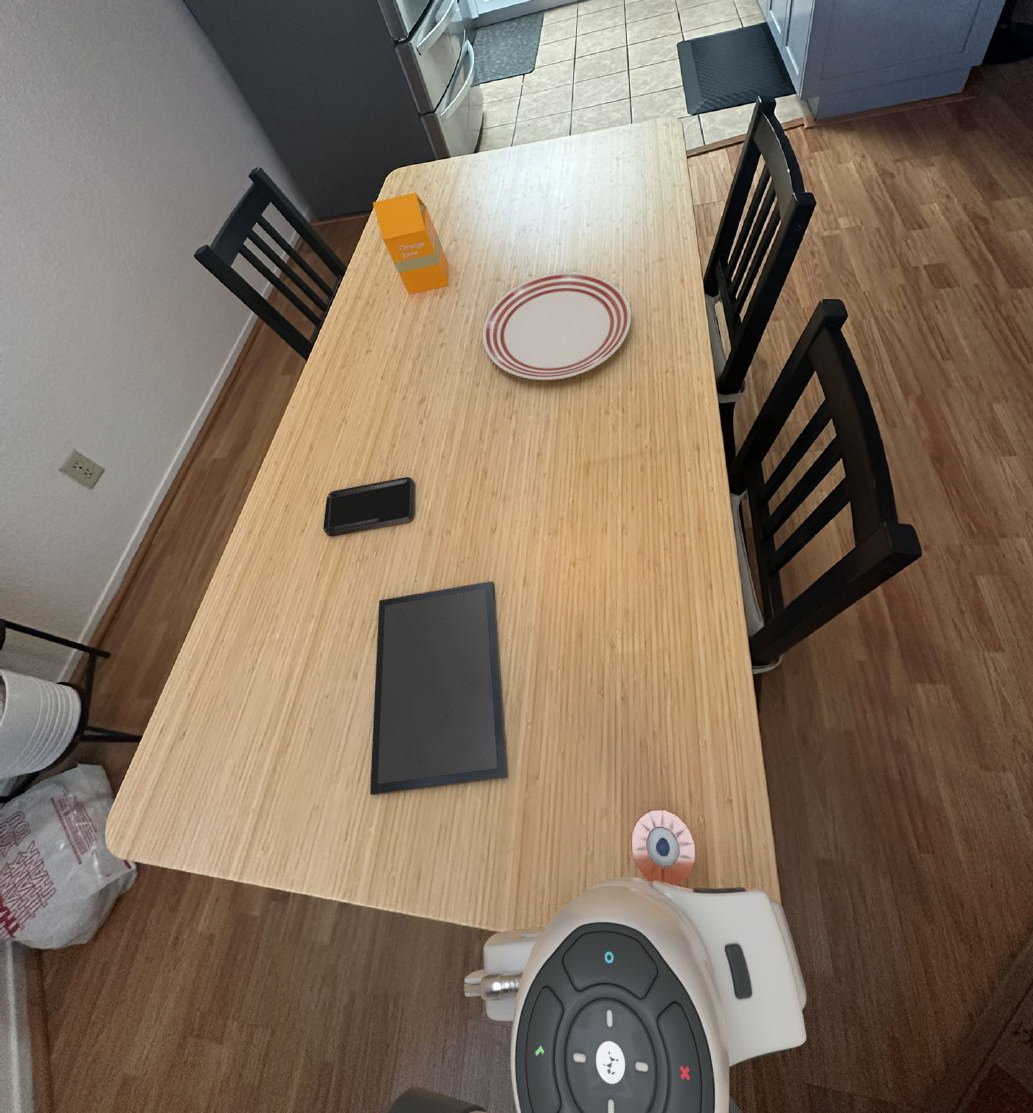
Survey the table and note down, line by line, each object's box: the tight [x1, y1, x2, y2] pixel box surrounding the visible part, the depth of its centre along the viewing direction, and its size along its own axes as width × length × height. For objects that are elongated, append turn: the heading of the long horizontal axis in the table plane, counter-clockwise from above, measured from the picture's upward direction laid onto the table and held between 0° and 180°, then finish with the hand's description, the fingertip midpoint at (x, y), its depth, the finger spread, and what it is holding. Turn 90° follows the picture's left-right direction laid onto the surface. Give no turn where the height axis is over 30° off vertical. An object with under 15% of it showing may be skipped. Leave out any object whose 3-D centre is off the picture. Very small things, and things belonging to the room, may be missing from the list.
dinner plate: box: [481, 271, 632, 381], centre depth 107 cm, size 28×27×3 cm
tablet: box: [369, 581, 509, 796], centre depth 77 cm, size 24×17×1 cm
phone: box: [322, 476, 416, 537], centre depth 94 cm, size 8×1×15 cm
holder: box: [630, 808, 697, 886], centre depth 57 cm, size 6×6×13 cm
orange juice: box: [372, 191, 449, 295], centre depth 118 cm, size 8×9×20 cm
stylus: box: [656, 838, 670, 856], centre depth 55 cm, size 1×1×18 cm
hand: (640, 941), depth 44 cm, fingers open, 8 cm apart
